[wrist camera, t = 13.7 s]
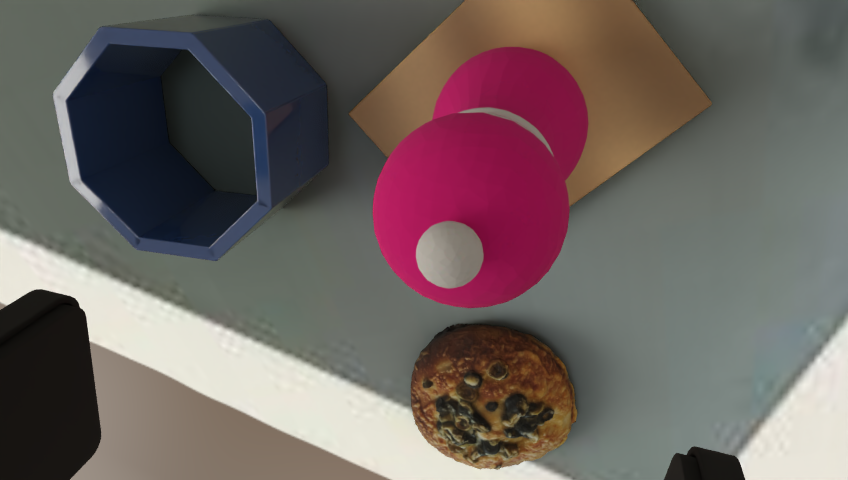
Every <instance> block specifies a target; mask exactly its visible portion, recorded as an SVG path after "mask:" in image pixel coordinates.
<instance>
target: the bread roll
mask: <svg viewBox="0 0 848 480" xmlns="http://www.w3.org/2000/svg"><path fill="white" fill-rule="evenodd" d="M574 396H575V394H574V387H573V385H572V383H571V382H570V380H569V378H568V373H567V371H566V367H565V365H564V364H563V362H562V361H561V360H560V359H559V358H558V357H557V356H556V355H555V354H554V353H553V352H552V350H551V349H550V348H549V347H548V346H547V345H545V344H544V343H542V342H540V341H539V340H537V339H536V338H535V337H533V336H532V335H530V334H524V333H521V332H519V331H516V330H512V329H509V328H507V327H501V326H490V325H481V324H480V325H478V324H473V325H472V324H469V325H467V324H465V325H464V324H457V325H456V326H454V325H452V326H450V328H449V327H447V328H446V329H444V330H443V331H442V332H439V333H438V334H437V335H436V336H435V337H434V339H433V340H432V341H431V342H430V343H429V345H428V346H426V348H425V349H423V350H422V351H421V353H420V356H419V358H418V359H417V360H416V362H415V367H414V371H413V374H412V381H411V407H412V411H413V416H414V419H415V424H416V425H417V426H418V429H419V431H420V432H421V433H422V435H423V437H424V438H425V439H426V440H427V441H428V443H429V444H431V445H432V446H434V447H435V448H437V449H438V451H439V452H441V453H443V454H444V455H445V456H447V457H450V458H453V459H454V460H455V461H457V462H461V463H464V464H466V465H469V466H473V467H475V468H478V469H482V468H489V469H497V470H498V469H500V468H501V467H507V466H512V465H515V464H517V465H518V464H520V463H521V462H523V461H532V460H535V459H538V458H541V457H542V456H544V455H545V454H546V453H547V452H549V451H551V450H554V449H555V448H558V447H559V446H561V445H562V444H563V443H564V442H565V441H566V439H567V435H568V433H569V432H570V430H571V424H572V423H574V422H576V417H577V410H576V407H575V399H574Z"/></svg>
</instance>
